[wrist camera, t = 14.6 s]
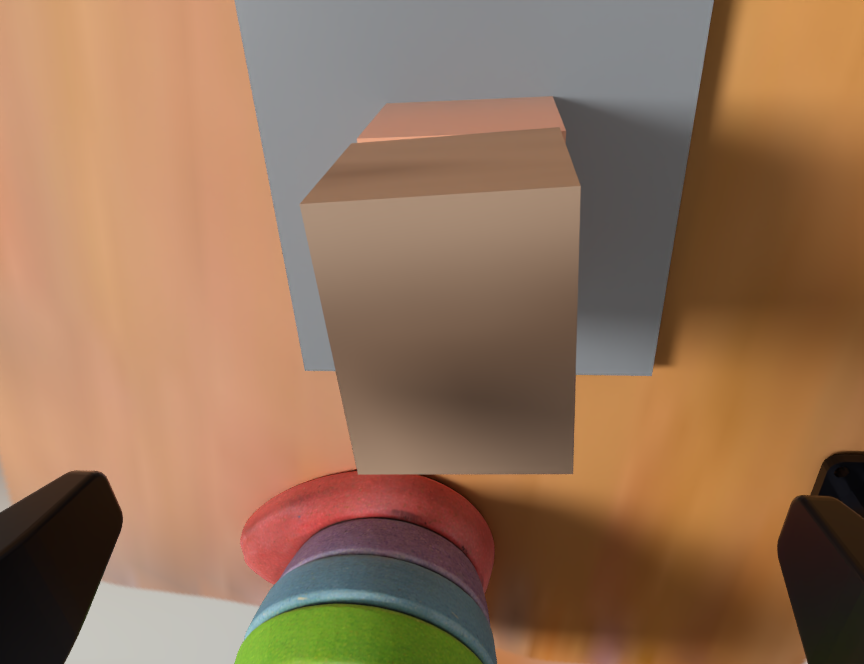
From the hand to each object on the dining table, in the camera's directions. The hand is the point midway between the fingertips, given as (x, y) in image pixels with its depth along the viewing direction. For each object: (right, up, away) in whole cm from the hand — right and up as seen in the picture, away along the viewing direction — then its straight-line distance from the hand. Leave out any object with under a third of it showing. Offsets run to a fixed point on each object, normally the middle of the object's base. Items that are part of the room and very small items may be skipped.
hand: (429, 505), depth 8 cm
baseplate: (+1, +6, +11) cm, 12 cm away
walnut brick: (+1, +4, +7) cm, 8 cm away
